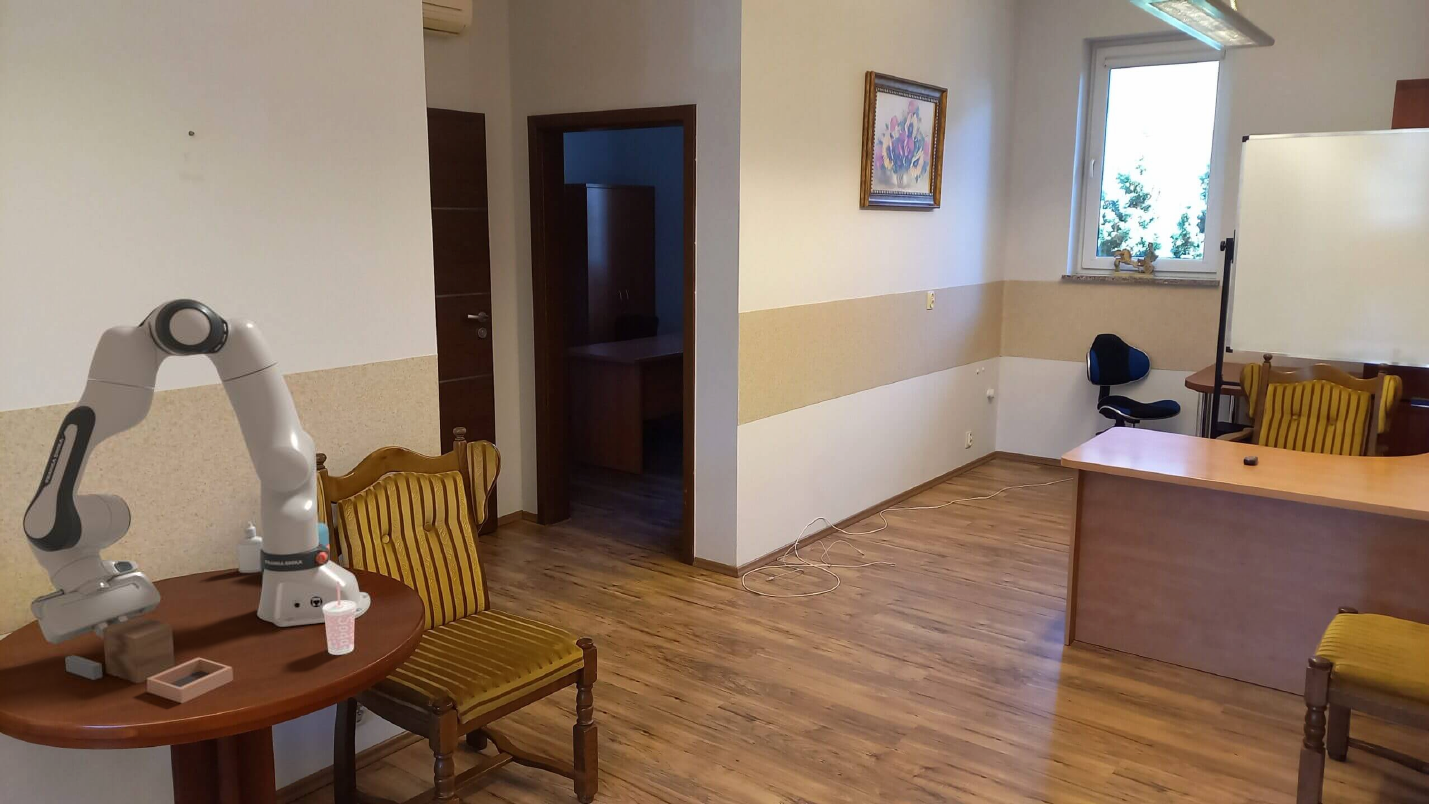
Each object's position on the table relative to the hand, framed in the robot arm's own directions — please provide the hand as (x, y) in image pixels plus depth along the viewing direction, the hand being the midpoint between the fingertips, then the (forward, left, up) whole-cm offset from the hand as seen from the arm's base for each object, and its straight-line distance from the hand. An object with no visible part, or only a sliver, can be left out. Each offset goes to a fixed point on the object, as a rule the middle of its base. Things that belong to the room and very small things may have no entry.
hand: (122, 642), depth 179 cm
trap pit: (-15, +11, -4) cm, 19 cm away
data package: (-20, -49, -5) cm, 54 cm away
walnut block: (-4, +3, -4) cm, 7 cm away
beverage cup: (-38, -2, -5) cm, 38 cm away
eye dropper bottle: (-8, -51, -5) cm, 52 cm away
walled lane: (+2, -1, -4) cm, 5 cm away
